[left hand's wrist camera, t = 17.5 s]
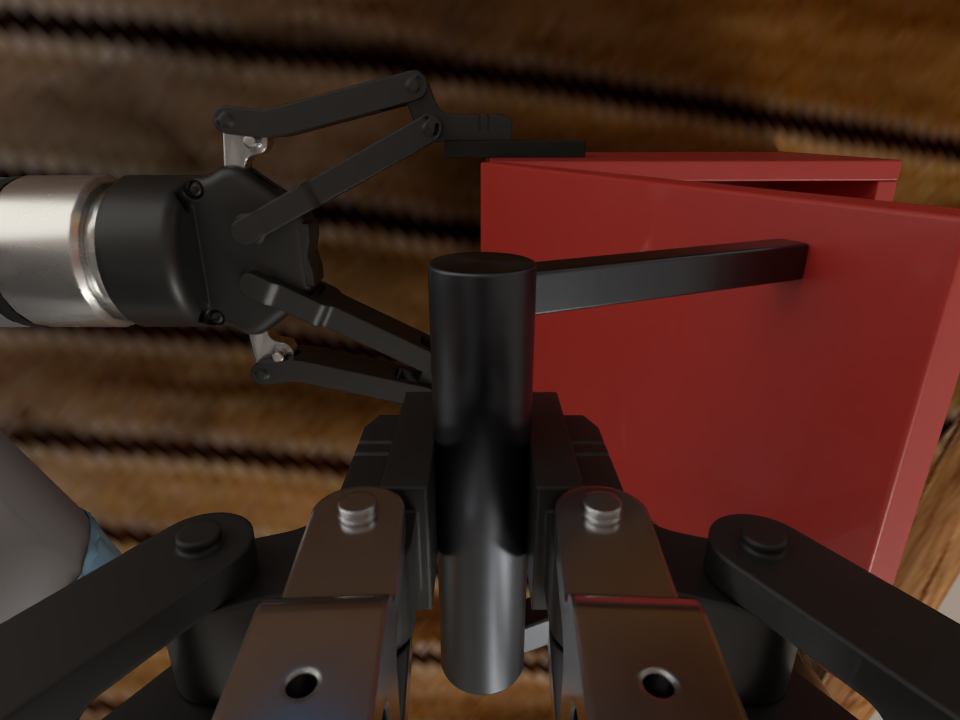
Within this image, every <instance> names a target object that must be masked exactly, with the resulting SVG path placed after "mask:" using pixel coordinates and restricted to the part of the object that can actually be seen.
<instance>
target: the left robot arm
mask: <svg viewBox="0 0 960 720" xmlns="http://www.w3.org/2000/svg"><path fill="white" fill-rule="evenodd" d="M437 556H438V532H437V500H436V469H435V440H434V432H433V403H432V392H406V395H405V398H404V402H403V405H402V409H401V413H400V415H380V416H378V417H377V418H376V419H375V420H373V421H372V422H371V423H370V424H368V425H367V426H366V427H365V428H364V431H363V434H362V436H361V439H360V443H359V444H358V446H357V449H356V452H355V456H354V457H353V459H352V462H351V465H350V467H349V470H348V472H347V475H346V478H345V480H344V483H343V485H342V488H341V490H339V491H336V492H334V493H332V494H330V495H328V496H326V497H325V498H323V499H322V500H321V501H320V502H318V503H317V504H316V506H315V507H314V508H313V510H312V512H311V515H310V518H309V521H308V523H307V526H305V527H302V528H299V529H296V530H293V531H289V532H285V533H280V534H275V535H270V536H265V537H261V538H256V539H255V537H254V531H253V527H252V525H251V523H250V522H249V521H248V520H247V519H245V518H244V517H242V516H239V515H236V514H232V513H209V514H203V515H198V516H194V517H191V518H188V519H185V520H183V521H180V522H178V523H176V524H174V525H172V526H170V527H168V528H167V529H165V530H163V531H161V532H160V533H158V534H156V535H154V536H153V537H151V538H149V539H147V540H146V541H144V542H142V543H140V544H139V545H137V546H135V547H133V548H132V549H130V550H128V551H127V552H125V553H123V554H121V555H120V556H118V557H116V558H114V559H113V560H111V561H109V562H107V563H106V564H104V565H102V566H100V567H99V568H97V569H95V570H93V571H92V572H90V573H88V574H86V575H85V576H83V577H81V578H80V579H78V580H76V581H74V582H73V583H71V584H69V585H67V586H66V587H64V588H62V589H60V590H59V591H57V592H55V593H53V594H52V595H50V596H48V597H46V598H45V599H43V600H41V601H40V602H38V603H36V604H34V605H33V606H31V607H29V608H27V609H26V610H24V611H22V612H20V613H19V614H17V615H15V616H13V617H12V618H10V619H8V620H6V621H5V622H3V623H1V624H0V720H79V719H80V717H81V715H82V714H83V712H84V711H85V709H86V708H87V707H88V706H89V704H90V703H91V702H92V701H93V700H94V699H95V698H96V697H98V696H99V695H100V694H101V693H103V692H104V691H105V690H107V689H108V688H109V687H111V686H112V685H113V684H115V683H116V682H117V681H119V680H120V679H121V678H123V677H124V676H126V675H127V674H128V673H130V672H131V671H132V670H134V669H135V668H136V667H138V666H139V665H140V664H142V663H143V662H144V661H146V660H147V659H148V658H150V657H151V656H152V655H154V654H155V653H156V652H158V651H159V650H161V649H162V648H163V647H165V646H166V645H167V649H168V653H169V657H170V661H171V666H170V667H169V668H167V669H166V670H165V671H164V672H162V673H161V674H160V675H158V676H157V677H156V678H155V679H153V680H152V681H151V682H149V683H148V684H147V685H146V686H144V687H143V688H142V689H140V690H139V691H138V692H137V693H135V694H134V695H133V696H131V697H130V698H129V699H128V700H126V701H125V702H124V703H122V704H121V705H120V706H119V707H117V708H116V709H115V710H113V711H112V712H111V713H110V714H108V715H107V716H106V717H104V718H103V719H102V720H408V709H409V694H410V678H411V663H412V633H413V631H414V627H415V621H416V613H417V610H432V607H433V596H434V586H435V576H436V566H437ZM526 561H527V570H528V580H529V589H530V599H531V608H532V610H547V612H548V619H549V634H548V662H549V678H550V693H551V709H552V720H858V719H857V718H856V717H854V716H853V715H852V714H850V713H849V712H848V711H847V710H845V709H844V708H843V707H841V706H840V705H839V704H838V703H836V702H835V701H834V700H832V698H831V697H830V695H829V693H828V692H827V690H826V689H825V687H824V686H823V684H822V682H821V681H820V679H819V678H818V676H817V675H816V673H815V671H814V670H813V667H811V664H810V662H808V661H809V660H808V658H807V657H806V655H808V656H809V657H810V658H812V659H813V660H814V661H816V662H817V663H818V664H820V665H821V666H822V667H824V668H825V669H826V670H828V671H829V672H830V673H832V674H833V675H834V676H836V677H837V678H839V679H840V680H841V681H843V682H844V683H845V684H847V685H848V686H849V687H851V688H852V689H853V690H855V691H856V692H857V693H859V694H860V695H861V696H863V697H864V698H865V699H866V700H868V701H869V702H870V703H871V704H872V705H873V706H874V708H875V709H876V710H877V711H878V712H879V714H880V715H881V717H882V718H883V720H960V624H959V623H957V622H955V621H954V620H952V619H950V618H948V617H947V616H945V615H943V614H941V613H940V612H938V611H936V610H934V609H933V608H931V607H929V606H927V605H926V604H924V603H922V602H921V601H919V600H917V599H915V598H914V597H912V596H910V595H908V594H907V593H905V592H903V591H901V590H900V589H898V588H896V587H894V586H893V585H891V584H889V583H887V582H886V581H884V580H882V579H880V578H879V577H877V576H875V575H874V574H872V573H870V572H868V571H867V570H865V569H863V568H861V567H860V566H858V565H856V564H854V563H853V562H851V561H849V560H847V559H846V558H844V557H842V556H840V555H839V554H837V553H835V552H833V551H832V550H830V549H828V548H827V547H825V546H823V545H821V544H820V543H818V542H816V541H814V540H813V539H811V538H809V537H807V536H806V535H804V534H802V533H800V532H799V531H797V530H795V529H793V528H792V527H790V526H788V525H786V524H784V523H781V522H779V521H776V520H773V519H770V518H767V517H763V516H758V515H751V514H732V515H727V516H724V517H721V518H719V519H717V520H716V521H714V523H713V524H712V525H711V527H710V528H709V534H708V538H703V537H698V536H694V535H689V534H684V533H679V532H675V531H671V530H668V529H665V528H662V527H659V526H657V525H655V524H653V523H652V521H651V518H650V515H649V512H648V510H647V508H646V507H645V506H644V504H643V503H642V502H640V501H639V500H638V499H637V498H635V497H634V496H632V495H630V494H628V493H626V492H624V491H623V488H622V486H621V483H620V481H619V478H618V476H617V473H616V470H615V468H614V465H613V463H612V460H611V458H610V456H609V453H608V450H607V448H606V445H605V444H604V440H603V438H602V435H601V433H600V430H599V428H598V427H597V426H596V425H595V424H594V423H592V422H591V421H590V420H589V419H587V418H586V417H585V416H584V415H563V411H562V408H561V404H560V401H559V398H558V394H557V392H533V398H532V429H531V440H530V442H529V469H528V499H527V528H526ZM803 653H804V654H803ZM805 654H806V655H805ZM806 658H807V659H806Z"/></svg>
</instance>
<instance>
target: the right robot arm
mask: <svg viewBox="0 0 960 720" xmlns="http://www.w3.org/2000/svg"><path fill="white" fill-rule="evenodd" d="M407 105H408V107H409V110H410V112H411V115H412V118H413V120H414V121H412V122H411V123H409V124H407V125H405V126H404V127H402V128H400V129H398V130H397V131H395V132H393V133H391V134H390V135H388V136H386V137H384V138H383V139H381V140H379V141H377V142H376V143H374V144H372V145H370V146H369V147H367V148H365V149H363V150H361V151H360V152H358V153H356V154H354V155H353V156H351V157H349V158H347V159H346V160H344V161H342V162H340V163H339V164H337V165H335V166H333V167H332V168H330V169H328V170H326V171H325V172H323V173H321V174H319V175H318V176H316V177H314V178H312V179H310V180H309V181H307V182H305V183H303V184H301V185H299V186H297V187H295V188H293V189H292V190H290V191H288V192H287V191H286V190H284V189H283V188H281V187H280V186H279V185H277V184H276V183H274V182H273V181H271V180H270V179H268V178H267V177H265V176H264V175H262V174H261V173H260V172H258V171H257V170H255V169H254V168H252V161H253V159H254V158H255V157H256V156H257V155H259V154H264V153H267V152H269V151H270V150H271V149H272V147H273V137H288V136H293V135H298V134H302V133H306V132H309V131H313V130H317V129H321V128H324V127H328V126H332V125H336V124H340V123H343V122H347V121H351V120H355V119H358V118H362V117H366V116H370V115H373V114H377V113H381V112H385V111H388V110H392V109H396V108H400V107H404V106H407ZM213 122H214V125H215V127H216V128H217V129H218V130H219V131H220V132H222V133H223V146H224V166H223V167H220V168H219V169H217V170H216V171H214V172H213V173H210V174H208V175H128V176H124V177H122V178H120V179H117V178H115V177H113V176H110V175H46V176H17V177H7V178H4V177H0V327H128V326H130V325H133V324H138V325H140V326H145V327H152V326H228V327H232V328H235V329H237V330H239V331H241V332H243V333H246V334H249V336H250V339H251V343H252V347H253V350H254V354H255V358H256V362H257V363H256V364H255V366H254V367H253V368H252V370H251V376H252V378H253V380H254V381H255V382H256V383H259V384H263V385H266V384H275V383H284V382H293V381H298V382H302V383H307V384H312V385H317V386H322V387H326V388H331V389H336V390H341V391H345V392H350V393H355V394H360V395H365V396H369V397H374V398H379V399H384V400H389V401H393V402H398V403H403V402H404V398H405V395H406V392H432V373H431V344H430V335H428V334H426V333H424V332H421V331H419V330H417V329H415V328H413V327H411V326H409V325H407V324H405V323H403V322H400V321H398V320H396V319H394V318H392V317H390V316H388V315H386V314H384V313H381V312H379V311H377V310H375V309H373V308H371V307H369V306H367V305H365V304H362V303H360V302H358V301H356V300H354V299H352V298H350V297H348V296H346V295H344V294H342V293H341V292H340V291H339V290H338V289H337V288H335V287H333V286H331V285H329V284H327V283H325V282H323V281H321V279H322V278H323V277H324V276H323V266H322V261H321V258H320V256H319V253H318V250H317V244H318V238H319V225H318V218H314V215H313V213H312V212H311V211H312V210H314V209H316V208H318V207H320V206H321V205H323V204H325V203H327V202H329V201H330V200H332V199H334V198H335V197H337V196H339V195H341V194H343V193H344V192H346V191H348V190H350V189H352V188H353V187H355V186H357V185H359V184H360V183H362V182H364V181H366V180H368V179H369V178H371V177H373V176H375V175H377V174H378V173H380V172H382V171H384V170H385V169H387V168H389V167H391V166H393V165H394V164H396V163H398V162H400V161H402V160H403V159H405V158H407V157H409V156H411V155H412V154H414V153H416V152H418V151H419V150H421V149H423V148H425V147H427V146H428V145H430V144H432V143H434V142H444V145H445V158H585V152H586V141H583V140H512V118H509V117H507V116H505V115H502V114H447V113H444V112H442V111H441V110H440V109H439V108H438V106H437V104H436V101H435V99H434V96H433V93H432V90H431V88H430V84H429V82H428V80H427V79H426V78H425V77H424V76H423V74H421V73H420V72H418V71H416V70H410V71H406V72H402V73H399V74H395V75H391V76H388V77H384V78H380V79H376V80H373V81H369V82H365V83H362V84H358V85H354V86H350V87H347V88H343V89H339V90H336V91H332V92H328V93H325V94H321V95H317V96H313V97H310V98H306V99H302V100H299V101H295V102H291V103H287V104H284V105H280V106H276V107H273V108H269V109H265V110H261V109H252V108H244V107H234V106H220V107H218V108H216V110H215V111H214V113H213ZM288 315H292V316H294V317H296V318H298V319H300V320H303V321H305V322H307V323H309V324H311V325H315V326H324V327H327V328H329V329H331V330H333V331H335V332H337V333H340V334H342V335H344V336H346V337H348V338H350V339H353V340H355V341H357V342H359V343H361V344H363V345H366V346H368V347H370V348H372V349H374V350H376V351H379V352H381V353H383V354H385V355H387V356H389V357H392V358H394V359H396V360H398V361H400V362H402V363H405V364H407V365H409V366H405V365H400V364H396V363H391V362H386V361H382V360H377V359H372V358H368V357H363V356H358V355H354V354H349V353H345V352H340V351H335V350H331V349H326V348H321V347H316V346H306V345H299V346H297V344H296V342H295V340H293V339H292V338H289V337H282V336H280V335H278V334H277V333H276V332H275V331H274V329H273V326H275V325H276V324H277V323H279V322H280V321H281V320H282V319H284V318H285V317H286V316H288ZM410 366H411V367H410ZM121 554H122V553H121V552H120V551H119V550H118V549H117V547H116V546H115V545H114V544H113V543H112V541H111V540H110V539H109V538H108V537H107V535H106V534H105V533H104V532H103V531H102V530H101V528H100V527H99V526H98V524H97V522H96V520H95V518H93V517H92V516H91V513H89V512H87V511H86V510H84V509H82V508H80V507H78V506H77V505H76V504H75V503H74V502H73V501H72V500H71V499H70V498H69V497H68V496H67V495H66V494H65V493H64V492H63V491H62V490H61V489H60V488H59V487H58V486H57V485H56V484H55V483H54V482H53V481H52V480H51V479H50V478H49V477H48V476H47V475H45V474H44V473H43V472H42V471H41V470H40V469H39V468H38V467H37V466H36V465H35V464H34V463H33V462H32V461H31V460H30V459H29V458H28V457H27V456H26V455H25V454H24V453H23V452H22V451H21V450H20V449H19V448H18V447H17V446H16V445H15V444H14V443H12V442H11V441H10V440H9V439H8V438H7V437H6V436H5V435H4V434H3V433H2V432H1V431H0V624H1V623H3V622H5V621H6V620H8V619H10V618H12V617H13V616H15V615H17V614H19V613H20V612H22V611H24V610H26V609H27V608H29V607H31V606H33V605H34V604H36V603H38V602H40V601H41V600H43V599H45V598H46V597H48V596H50V595H52V594H53V593H55V592H57V591H59V590H60V589H62V588H64V587H66V586H67V585H69V584H71V583H73V582H74V581H76V580H78V579H80V578H81V577H83V576H85V575H86V574H88V573H90V572H92V571H93V570H95V569H97V568H99V567H100V566H102V565H104V564H106V563H107V562H109V561H111V560H113V559H114V558H116V557H118V556H120V555H121Z"/></svg>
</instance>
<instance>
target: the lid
mask: <svg viewBox="0 0 960 720" xmlns="http://www.w3.org/2000/svg"><path fill="white" fill-rule="evenodd" d="M428 285H429V314H430V344H431V373H432V403H433V432H434V440H435V469H436V500H437V532H438V579H439V608H440V638H441V664H442V668H443V671H444V673H445V675H446V677H447V678H448V679H449V681H450V682H451V683H452V684H453V685H454V686H456V687H457V688H459V689H460V690H462V691H464V692H467V693H470V694H475V695H490V694H495V693H498V692H501V691H503V690H505V689H507V688H508V687H510V686H511V685H512V684H513V683H514V682H515V681H516V680H517V678H518V677H519V675H520V674H521V671H522V669H523V664H524V653H527V652H529V651H532V650H535V649H537V648H540V647H543V646H545V645H548V634H549V619H548V612H547V610H532V608H531V599H530V598H527V599H526V580H527V561H526V528H527V499H528V469H529V442H530V440H531V429H532V398H533V392H557V394H558V398H559V401H560V404H561V408H562V411H563V415H584V416H585V417H586V418H587V419H589V420H590V421H591V422H592V423H594V424H595V425H596V426H597V427H598V428H599V430H600V433H601V435H602V438H603V440H604V444H605V445H606V448H607V450H608V453H609V456H610V458H611V460H612V463H613V465H614V468H615V470H616V473H617V476H618V478H619V481H620V483H621V486H622V488H623V491H624V492H626V493H628V494H630V495H632V496H634V497H635V498H637V499H638V500H639V501H640V502H642V503H643V504H644V506H645V507H646V508H647V510H648V512H649V515H650V518H651V520H652V521H653V522H655V523H656V524H657V525H658V526H659V527H662V528H665V529H668V530H671V531H675V532H679V533H684V534H689V535H694V536H698V537H703V538H708V534H709V528H710V527H711V525H712V524H713V523H714V521H716V520H717V519H719V518H721V517H724V516H727V515H732V514H751V515H758V516H763V517H767V518H770V519H773V520H776V521H779V522H781V523H784V524H786V525H788V526H790V527H792V528H793V529H795V530H797V531H799V532H800V533H802V534H804V535H806V536H807V537H809V538H811V539H813V540H814V541H816V542H818V543H820V544H821V545H823V546H825V547H827V548H828V549H830V550H832V551H833V552H835V553H837V554H839V555H840V556H842V557H844V558H846V559H847V560H849V561H851V562H853V563H854V564H856V565H858V566H860V567H861V568H863V569H865V570H867V571H868V572H870V573H872V574H874V575H875V576H877V577H879V578H880V579H882V580H884V581H886V582H887V583H889V584H891V585H893V583H894V580H895V577H896V574H897V571H898V567H899V564H900V561H901V558H902V555H903V552H904V548H905V545H906V542H907V539H908V536H909V532H910V529H911V526H912V523H913V520H914V516H915V513H916V510H917V507H918V504H919V501H920V497H921V494H922V491H923V488H924V485H925V481H926V478H927V475H928V472H929V469H930V465H931V462H932V459H933V456H934V453H935V449H936V446H937V443H938V440H939V437H940V434H941V430H942V427H943V424H944V421H945V418H946V414H947V411H948V408H949V405H950V402H951V398H952V395H953V392H954V389H955V386H956V383H957V379H958V376H959V373H960V209H959V208H949V207H940V206H930V205H920V204H910V203H901V202H891V201H881V200H871V199H862V198H852V197H842V196H832V195H823V194H813V193H803V192H793V191H783V190H774V189H764V188H754V187H744V186H735V185H725V184H715V183H705V182H696V181H686V180H676V179H666V178H657V177H647V176H637V175H627V174H617V173H608V172H598V171H588V170H578V169H569V168H559V167H549V166H539V165H530V164H520V163H510V162H482V163H481V252H465V253H455V254H449V255H444V256H440V257H438V258H435V259H433V260H431V261H430V262H429V264H428ZM819 665H820V664H819ZM820 666H821V665H820ZM821 667H822V666H821ZM823 668H824V667H823ZM824 669H825V668H824ZM825 670H826V669H825ZM826 671H827V672H828V673H830V672H829V671H828V670H826ZM830 674H831V675H832V676H833V677H835V678H837V677H836V676H834V675H833V674H832V673H830Z"/></svg>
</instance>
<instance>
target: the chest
mask: <svg viewBox="0 0 960 720" xmlns="http://www.w3.org/2000/svg"><path fill="white" fill-rule="evenodd" d="M486 162H510V163H520V164H530V165H539V166H549V167H559V168H569V169H578V170H588V171H598V172H608V173H617V174H627V175H637V176H647V177H657V178H666V179H676V180H686V181H696V182H705V183H715V184H725V185H735V186H744V187H754V188H764V189H774V190H783V191H793V192H803V193H813V194H823V195H832V196H842V197H852V198H862V199H871V200H881V201H891V202H892V201H893V197H894V193H895V189H896V185H897V181H896V180H897V179H898V176H899V172H900V168H901V164H902V161H901V160H894V159H879V158H865V157H850V156H836V155H822V154H807V153H793V152H585V158H486Z"/></svg>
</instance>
